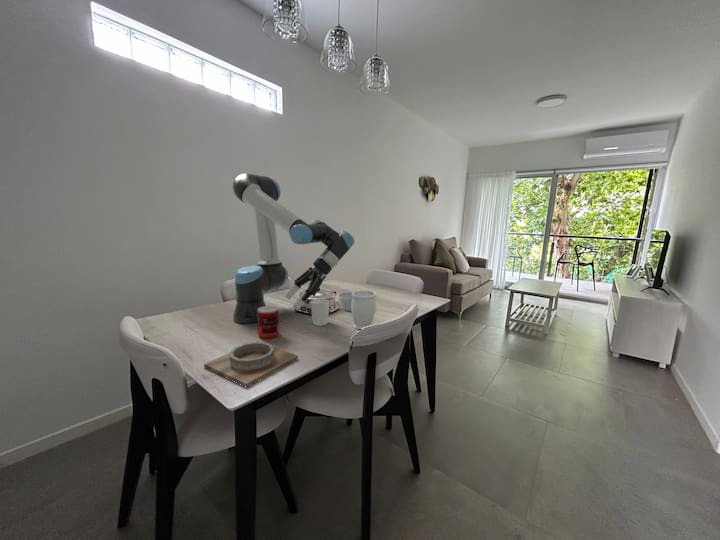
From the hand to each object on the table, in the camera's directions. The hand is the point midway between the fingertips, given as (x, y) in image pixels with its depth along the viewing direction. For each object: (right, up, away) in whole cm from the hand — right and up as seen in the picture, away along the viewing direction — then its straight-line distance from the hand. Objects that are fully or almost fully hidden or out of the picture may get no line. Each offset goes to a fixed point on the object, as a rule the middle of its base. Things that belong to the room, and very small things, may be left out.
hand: (291, 302), depth 116 cm
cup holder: (-7, -17, -23) cm, 29 cm away
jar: (+29, -12, +10) cm, 33 cm away
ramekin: (+23, -7, +35) cm, 43 cm away
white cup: (+10, -11, +13) cm, 20 cm away
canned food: (-8, -13, -1) cm, 16 cm away
